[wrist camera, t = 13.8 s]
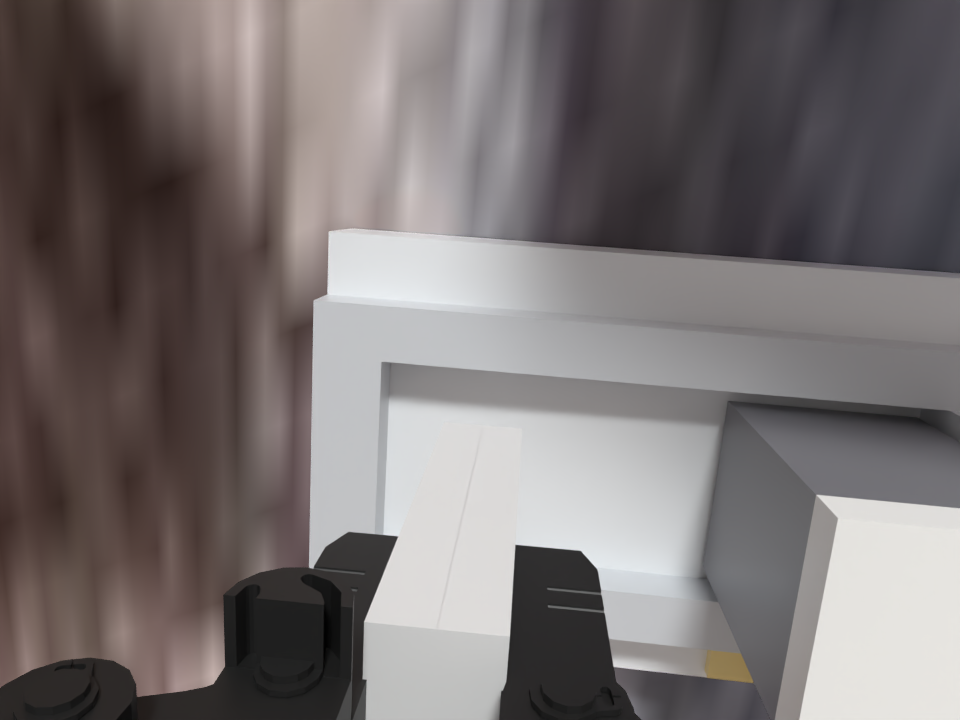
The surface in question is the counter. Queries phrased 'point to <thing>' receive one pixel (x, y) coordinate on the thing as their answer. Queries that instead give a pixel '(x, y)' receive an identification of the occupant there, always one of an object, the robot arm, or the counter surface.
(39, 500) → the counter surface
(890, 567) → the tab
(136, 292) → the counter surface
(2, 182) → the counter surface
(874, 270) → the switch bank
